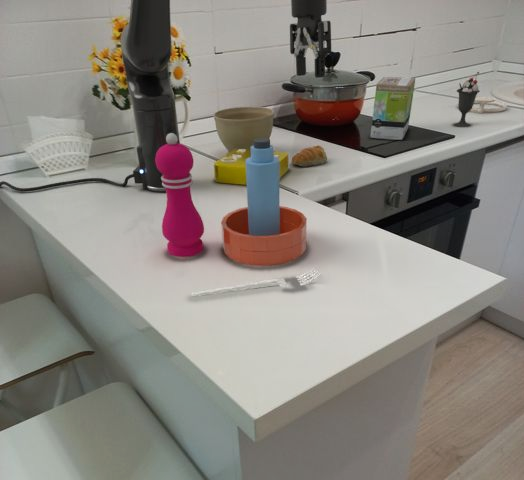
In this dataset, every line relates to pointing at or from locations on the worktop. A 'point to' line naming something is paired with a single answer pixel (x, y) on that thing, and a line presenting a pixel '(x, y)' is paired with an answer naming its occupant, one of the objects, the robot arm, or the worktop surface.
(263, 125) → the planter bowl
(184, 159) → the pepper mill
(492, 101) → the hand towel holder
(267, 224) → the bottle
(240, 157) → the element tile
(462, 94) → the sundae
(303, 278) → the fork
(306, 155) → the pastry
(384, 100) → the tea box
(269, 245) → the pot
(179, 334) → the worktop surface
